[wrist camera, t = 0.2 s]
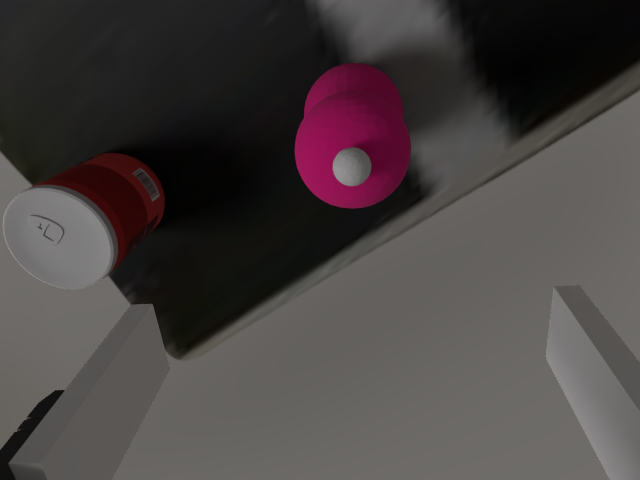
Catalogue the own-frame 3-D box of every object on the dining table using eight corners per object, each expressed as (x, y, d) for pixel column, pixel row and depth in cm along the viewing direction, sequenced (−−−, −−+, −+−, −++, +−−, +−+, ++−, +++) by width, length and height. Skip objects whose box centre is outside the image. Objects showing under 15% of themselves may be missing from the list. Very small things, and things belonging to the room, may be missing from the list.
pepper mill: (401, 59, 39) (441, 87, 21) (396, 151, 42) (427, 248, 24) (308, 59, 40) (267, 86, 21) (309, 150, 42) (274, 244, 24)
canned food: (88, 136, 43) (7, 170, 33) (177, 170, 44) (124, 213, 34) (73, 214, 46) (-6, 267, 36) (157, 245, 47) (103, 305, 37)
